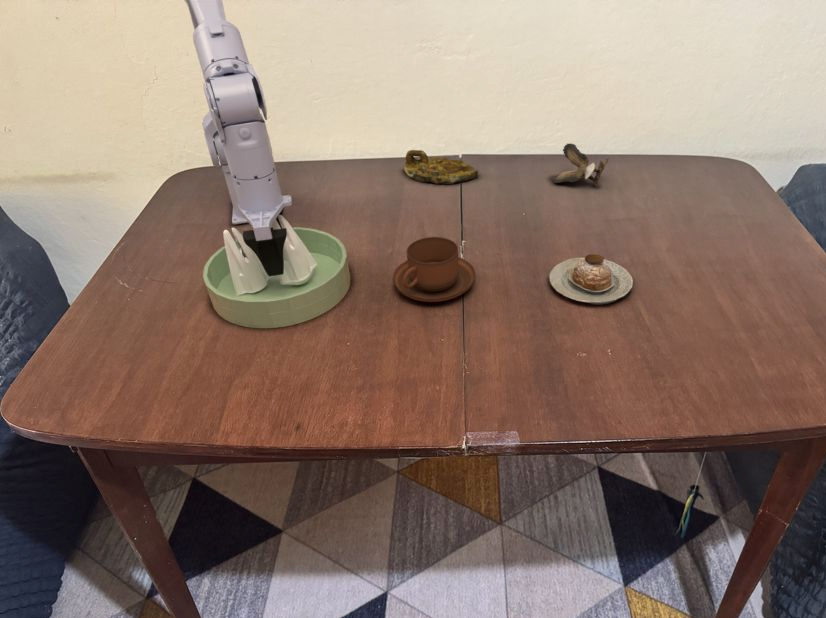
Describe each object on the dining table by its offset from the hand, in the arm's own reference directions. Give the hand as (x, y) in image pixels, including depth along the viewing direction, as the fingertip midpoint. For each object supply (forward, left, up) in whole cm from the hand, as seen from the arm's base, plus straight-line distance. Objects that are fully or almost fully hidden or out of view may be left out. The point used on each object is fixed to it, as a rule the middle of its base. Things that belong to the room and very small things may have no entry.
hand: (275, 260), depth 92 cm
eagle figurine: (-21, +55, -5) cm, 59 cm away
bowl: (0, 0, -5) cm, 5 cm away
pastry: (+12, +44, -5) cm, 46 cm away
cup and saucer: (+6, +22, -5) cm, 23 cm away
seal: (-32, +31, -5) cm, 45 cm away
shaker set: (0, 0, -4) cm, 4 cm away
